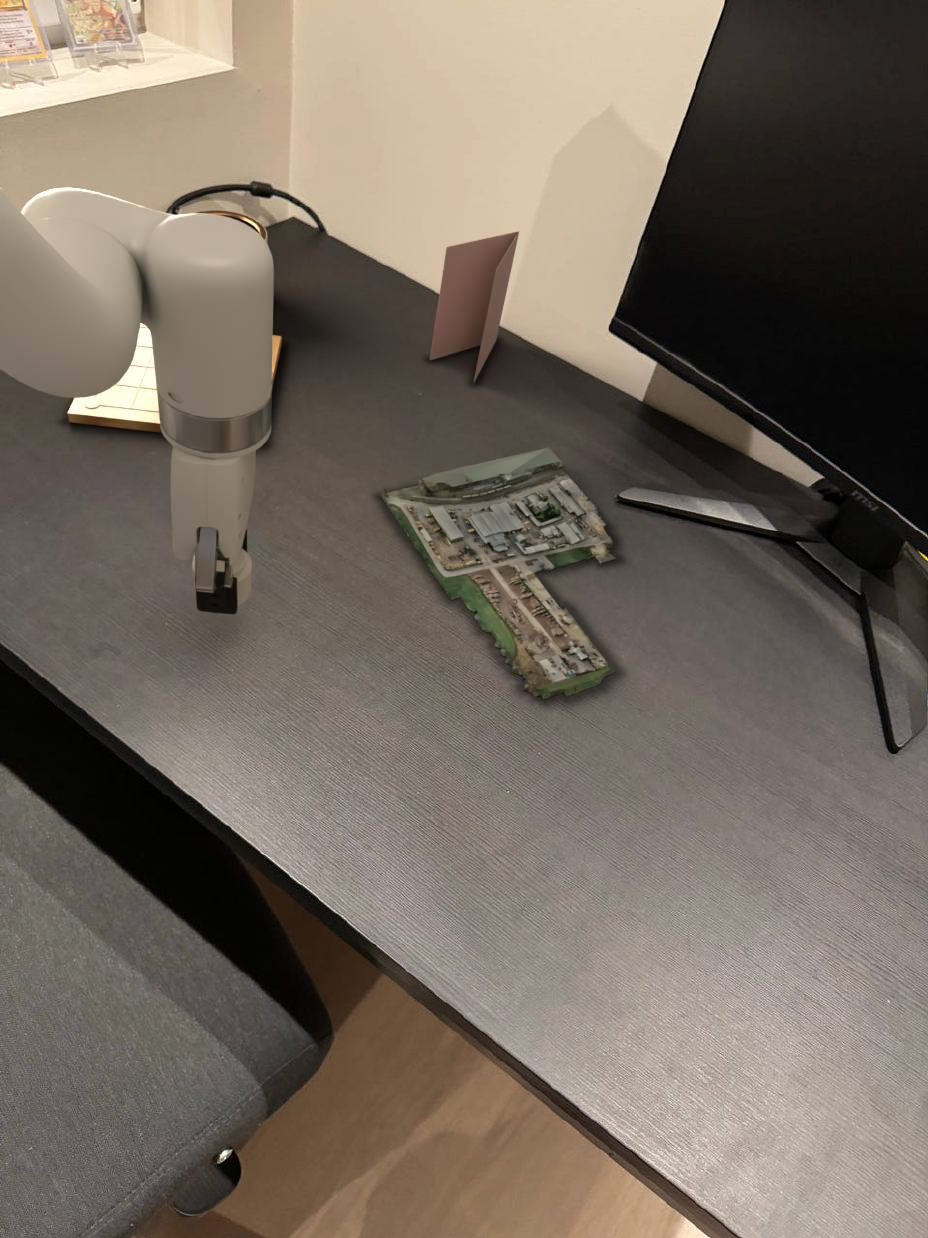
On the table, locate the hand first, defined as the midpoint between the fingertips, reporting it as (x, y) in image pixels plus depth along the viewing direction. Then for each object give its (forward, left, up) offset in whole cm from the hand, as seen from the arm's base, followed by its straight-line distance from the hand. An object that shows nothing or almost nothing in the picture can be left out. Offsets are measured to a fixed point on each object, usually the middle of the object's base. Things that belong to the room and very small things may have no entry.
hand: (223, 584), depth 72 cm
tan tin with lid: (0, 0, 0) cm, 0 cm away
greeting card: (+25, +48, -6) cm, 54 cm away
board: (-10, +36, -5) cm, 38 cm away
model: (+30, +11, -6) cm, 32 cm away
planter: (-8, +54, -6) cm, 55 cm away
